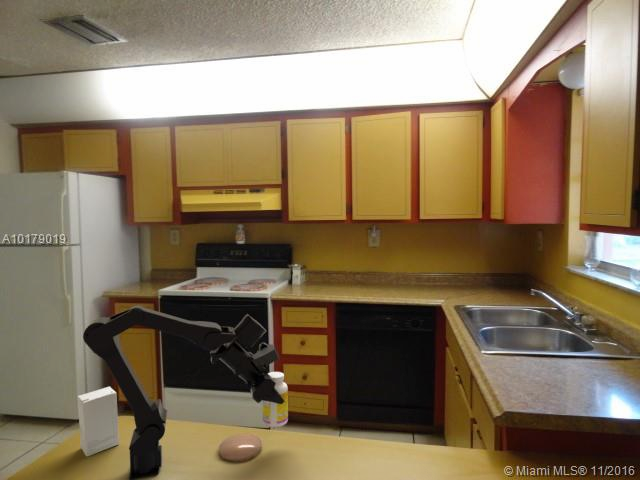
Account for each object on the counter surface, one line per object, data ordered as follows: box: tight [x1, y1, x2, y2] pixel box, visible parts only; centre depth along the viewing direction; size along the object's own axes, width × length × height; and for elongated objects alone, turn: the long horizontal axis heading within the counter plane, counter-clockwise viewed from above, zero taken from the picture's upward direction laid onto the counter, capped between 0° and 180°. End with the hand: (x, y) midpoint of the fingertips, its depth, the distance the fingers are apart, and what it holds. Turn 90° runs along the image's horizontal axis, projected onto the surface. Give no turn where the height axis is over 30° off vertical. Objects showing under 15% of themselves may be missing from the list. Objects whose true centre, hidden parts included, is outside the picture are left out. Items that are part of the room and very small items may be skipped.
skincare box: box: [77, 385, 120, 457], centre depth 106 cm, size 8×6×15 cm
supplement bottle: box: [262, 371, 289, 428], centre depth 105 cm, size 7×7×13 cm
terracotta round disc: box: [218, 433, 263, 462], centre depth 104 cm, size 11×11×1 cm
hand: (280, 397), depth 106 cm, fingers closed on supplement bottle, 7 cm apart
